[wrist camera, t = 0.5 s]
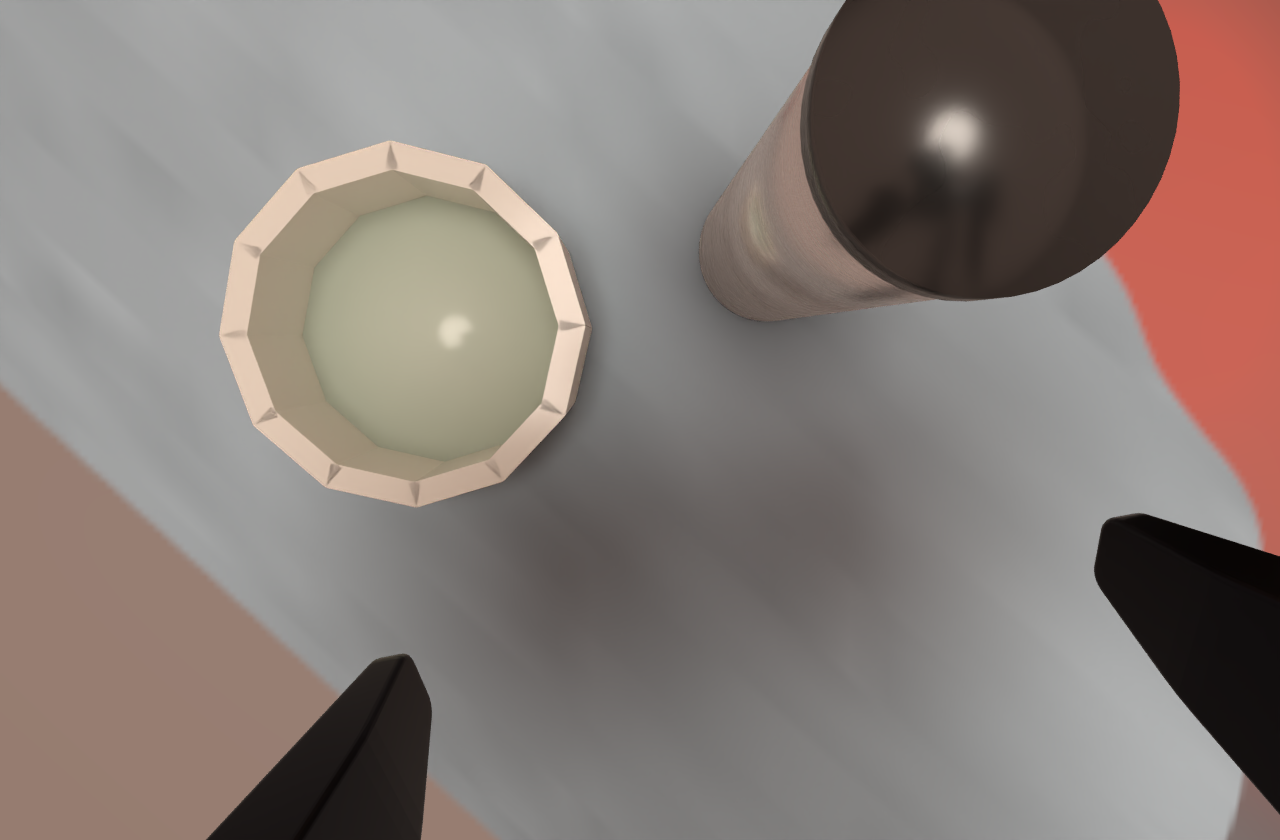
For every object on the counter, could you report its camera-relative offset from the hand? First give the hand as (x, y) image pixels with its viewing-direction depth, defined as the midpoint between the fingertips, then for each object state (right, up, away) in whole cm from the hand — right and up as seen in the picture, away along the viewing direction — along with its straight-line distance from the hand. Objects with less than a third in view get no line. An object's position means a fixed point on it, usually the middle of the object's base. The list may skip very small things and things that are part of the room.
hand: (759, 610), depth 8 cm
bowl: (-8, +5, +13) cm, 16 cm away
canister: (+3, +8, +13) cm, 15 cm away
